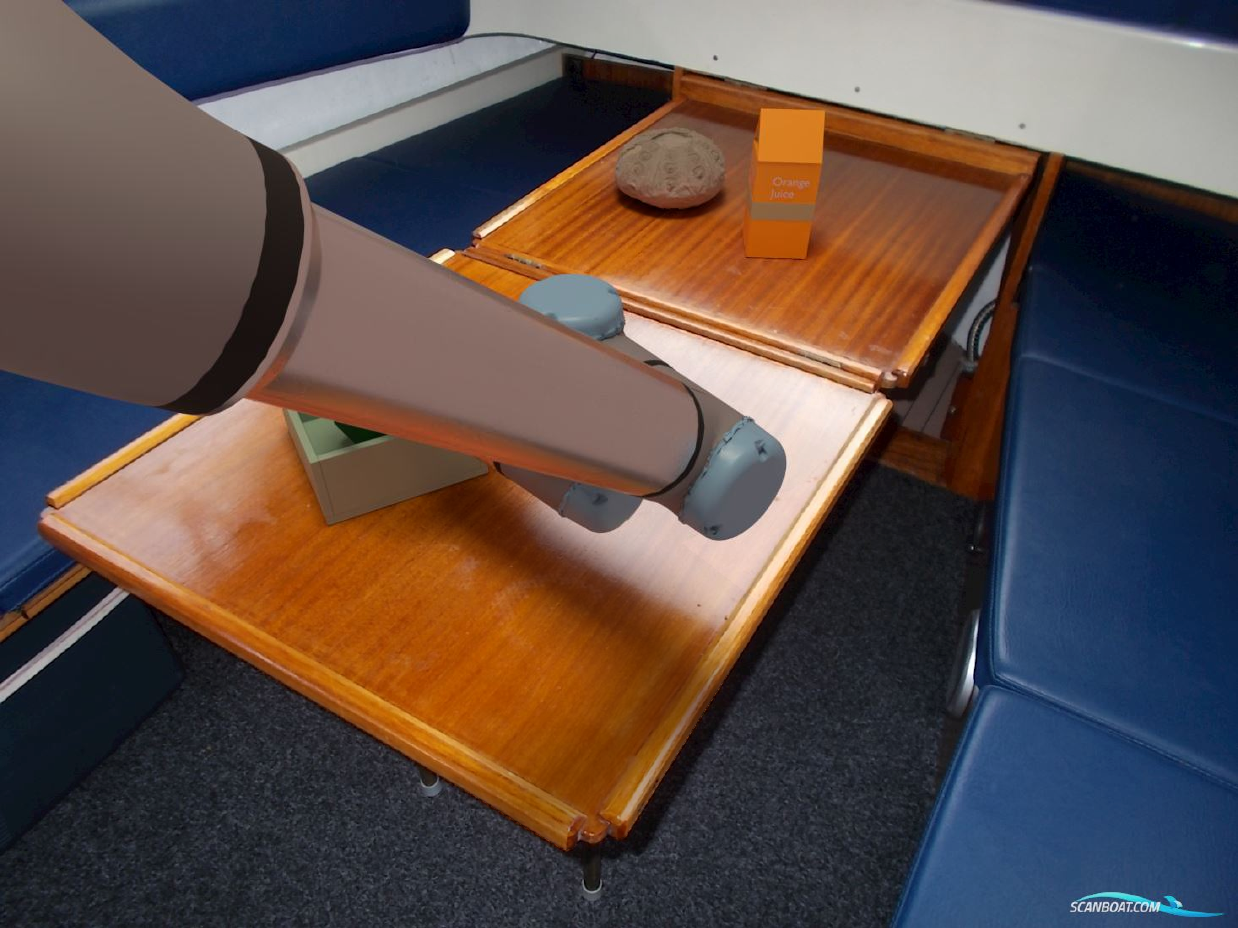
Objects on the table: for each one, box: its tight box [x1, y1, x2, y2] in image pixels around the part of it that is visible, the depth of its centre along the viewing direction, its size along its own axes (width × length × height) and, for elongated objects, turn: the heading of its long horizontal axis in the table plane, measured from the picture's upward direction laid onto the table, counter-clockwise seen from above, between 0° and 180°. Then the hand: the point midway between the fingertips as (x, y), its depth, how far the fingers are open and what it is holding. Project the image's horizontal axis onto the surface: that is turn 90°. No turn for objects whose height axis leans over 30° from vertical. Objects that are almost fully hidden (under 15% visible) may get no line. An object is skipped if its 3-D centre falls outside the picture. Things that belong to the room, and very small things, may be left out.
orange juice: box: [742, 107, 826, 259], centre depth 122 cm, size 8×9×20 cm
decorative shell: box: [613, 126, 727, 210], centre depth 137 cm, size 18×18×10 cm
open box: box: [281, 408, 489, 527], centre depth 89 cm, size 17×17×8 cm
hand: (334, 320), depth 84 cm, fingers closed on soya milk, 9 cm apart
